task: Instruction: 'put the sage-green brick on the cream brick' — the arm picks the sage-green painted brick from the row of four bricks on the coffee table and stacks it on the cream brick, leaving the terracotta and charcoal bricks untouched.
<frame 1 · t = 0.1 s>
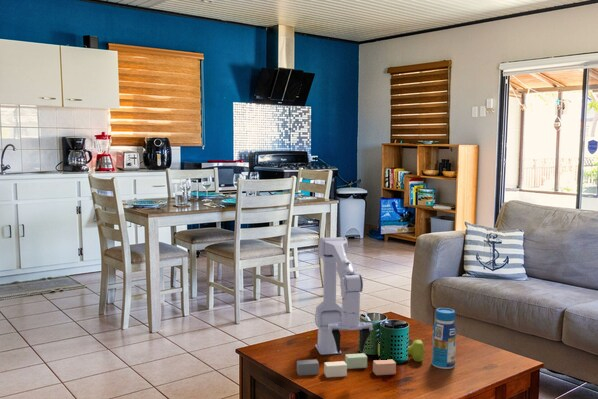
hand: (349, 351, 195), 10 cm above the table, fingers open, 7 cm apart
dumbbell: (400, 359, 215), on the table
beverage bottle: (443, 365, 210), on the table
brick cream: (335, 375, 200), on the table
brick terracotta: (384, 373, 203), on the table
brick sage: (355, 366, 208), on the table
brick charcoal: (307, 373, 201), on the table
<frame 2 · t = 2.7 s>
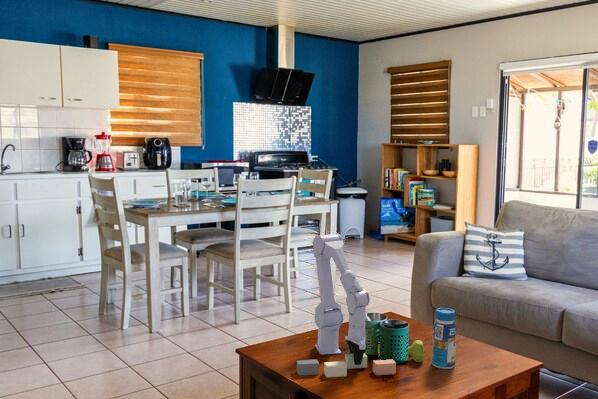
hand: (356, 362, 208), 1 cm above the table, fingers closed on brick sage, 3 cm apart
brick sage: (356, 366, 208), on the table, touching gripper
everything else where it was.
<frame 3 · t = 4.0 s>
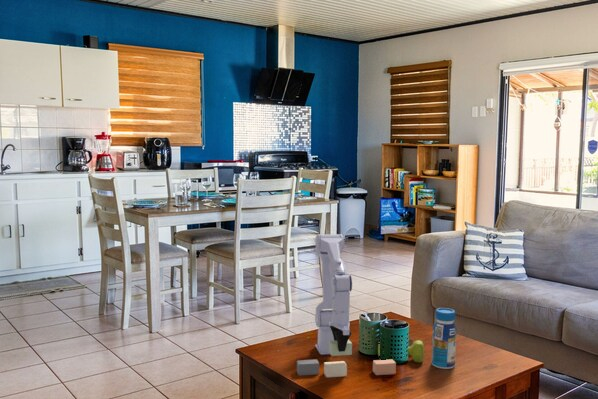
hand: (340, 348, 201), 8 cm above the table, fingers closed on brick sage, 3 cm apart
brick sage: (340, 353, 201), point 7 cm above the table, touching gripper
everything else where it was.
when the fingers open (7 cm above the table, at t = 5.3 s): brick sage drops 1 cm, resting on brick cream.
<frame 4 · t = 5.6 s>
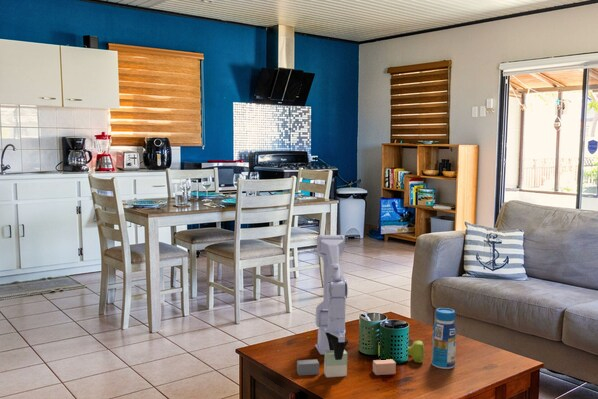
hand: (335, 355, 200), 7 cm above the table, fingers open, 6 cm apart
brick cream: (335, 374, 200), on the table, touching brick sage
brick sage: (335, 363, 200), point 4 cm above the table, touching brick cream
everything else where it was.
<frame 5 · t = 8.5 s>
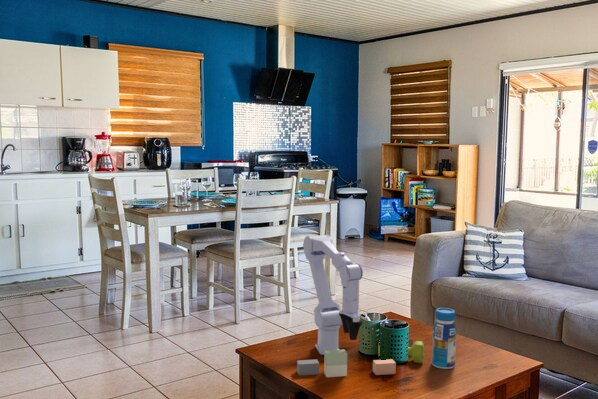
hand: (350, 336, 208), 10 cm above the table, fingers open, 7 cm apart
nothing on the table moved.
at the end: brick sage 0.0 cm off-centre on the brick cream, point 4.0 cm above the brick cream's base; brick terracotta moved 0.3 cm from its start; brick charcoal moved 0.2 cm from its start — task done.
